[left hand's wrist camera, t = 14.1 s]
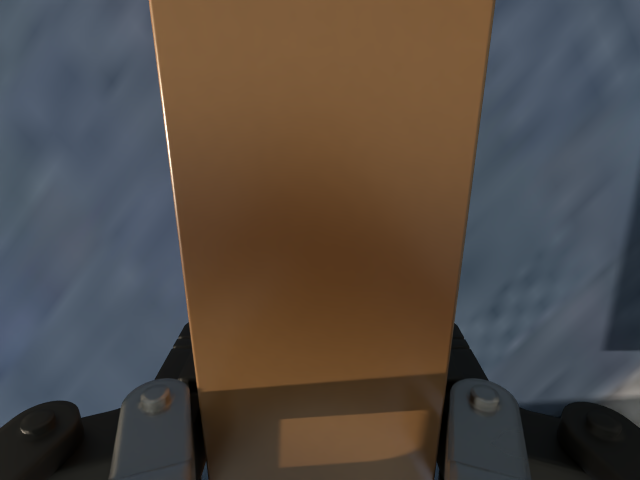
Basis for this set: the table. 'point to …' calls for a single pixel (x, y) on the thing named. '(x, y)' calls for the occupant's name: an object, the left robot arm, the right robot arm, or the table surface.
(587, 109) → the table surface
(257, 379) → the bar
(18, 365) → the table surface
